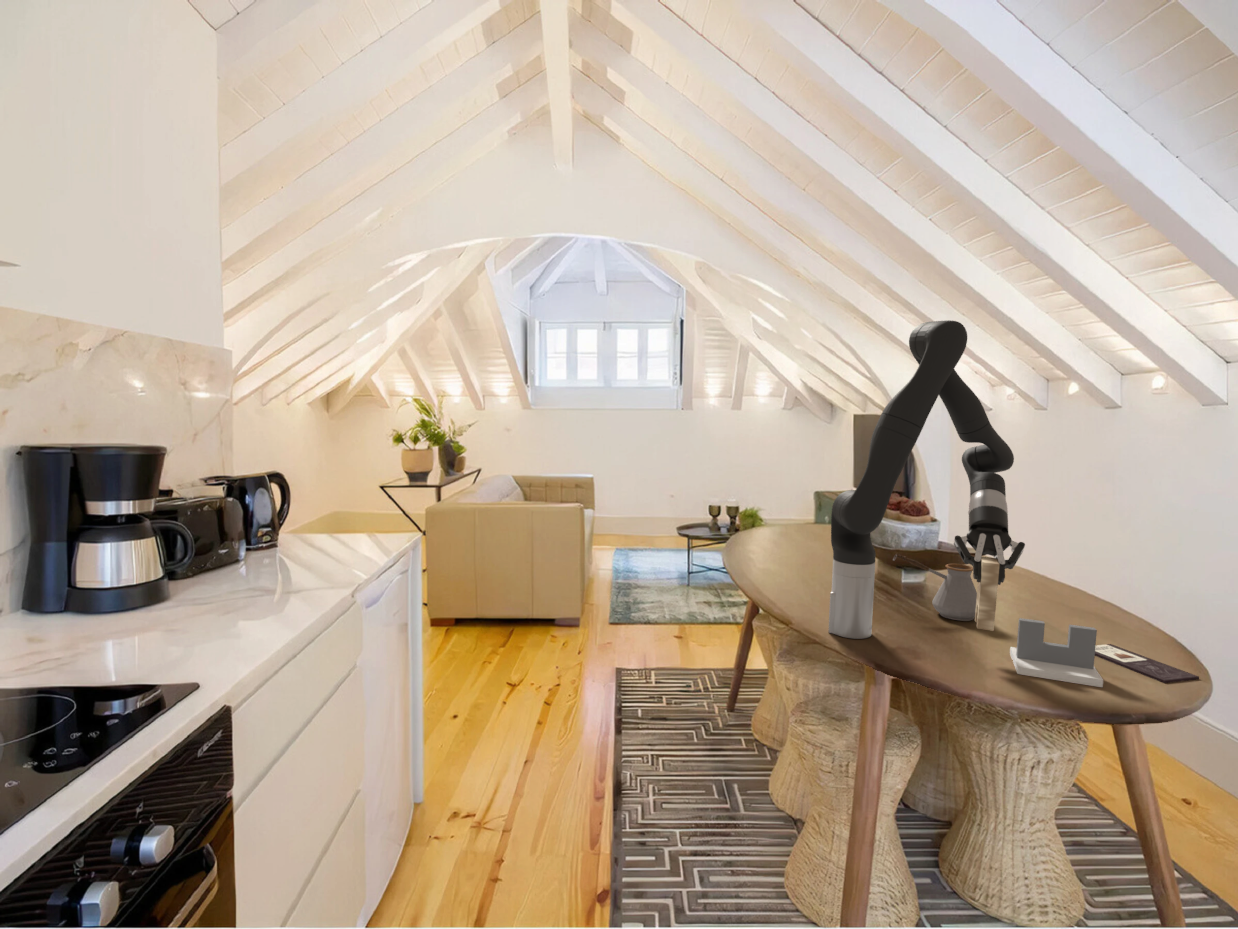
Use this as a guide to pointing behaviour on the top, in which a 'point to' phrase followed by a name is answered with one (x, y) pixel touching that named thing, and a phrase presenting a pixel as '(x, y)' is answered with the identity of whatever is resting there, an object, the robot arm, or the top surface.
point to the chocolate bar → (1142, 664)
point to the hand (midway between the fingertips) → (989, 581)
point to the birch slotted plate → (987, 594)
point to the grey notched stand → (1056, 654)
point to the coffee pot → (953, 591)
